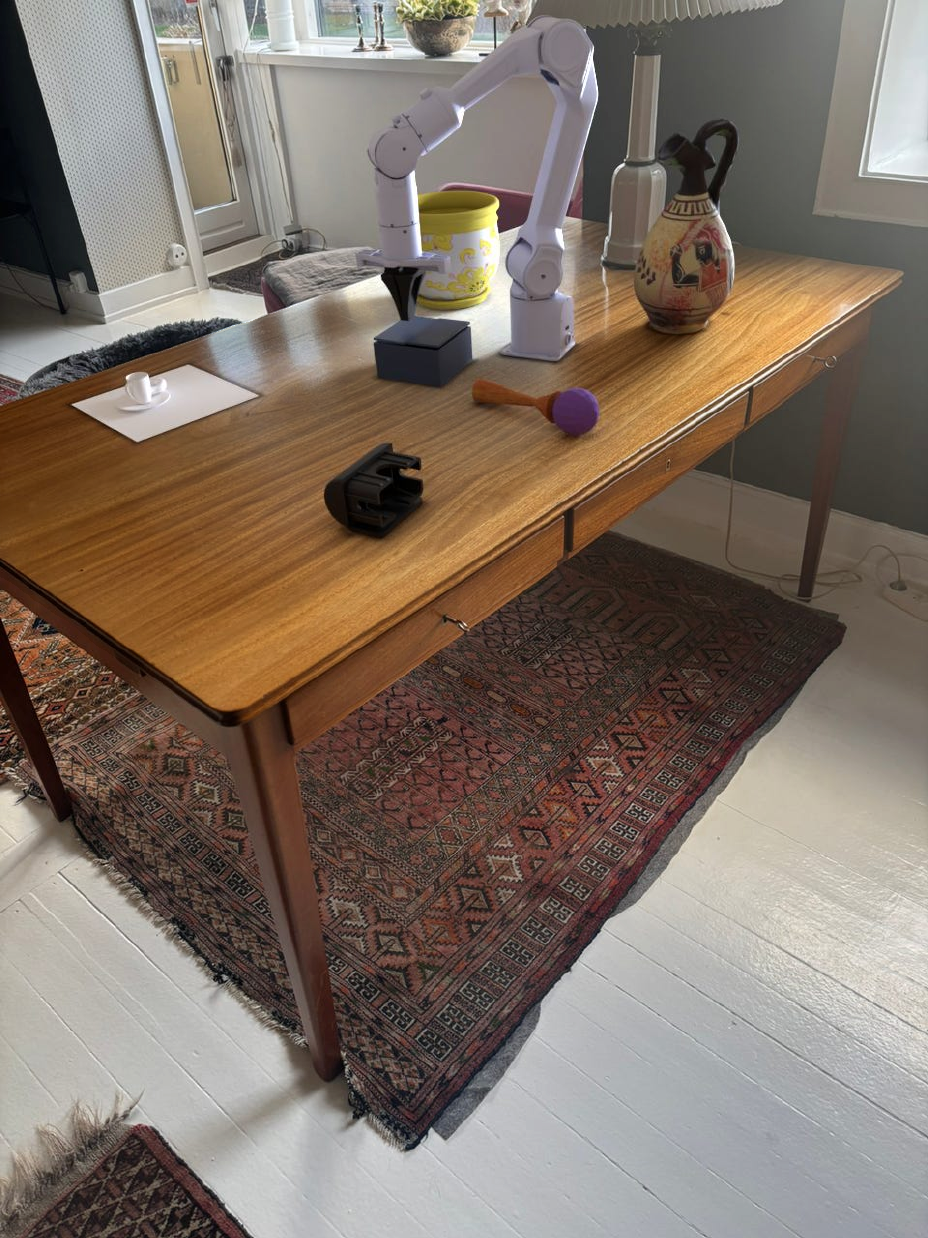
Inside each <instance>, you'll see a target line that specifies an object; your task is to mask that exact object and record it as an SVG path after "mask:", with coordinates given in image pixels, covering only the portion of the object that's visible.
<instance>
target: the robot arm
mask: <svg viewBox="0 0 928 1238" xmlns="http://www.w3.org/2000/svg"><path fill="white" fill-rule="evenodd" d="M594 48H595V46H594V44H593V42H592V41H591V39H590V38H589V36H588V34H587V33H586V31H585V29H584V28H583V26H582V25H581V24H580V23H579V22H578V21H576V20H574V19H571V18H559V17H558V18H557V17H554V16H552V15H546V14H543V15H539V16H536V17H534V18H533V19H532V20H530V21H529V22H528V24H527V25H526V26H521V27H520V28H518V29H516V30H514V32H513V33H511V34H510V35H509V36H508V37H507V38H505V40H503V41H502V42H501V43H500V44H499V45H498V46H497V47H496V48H494V49H493V50H492V51H491V52H490V53H489V54H487V55H486V56H485V57H484V58H483V59H482V60H481V61H479V62H478V63H477V64H476V65H475V66H473V68H471V69H470V70H469V71H468V72H466V74H465V75H463V76H462V77H461V78H460V79H459V80H458V81H456V82H455V84H453V85H452V86H450V87H449V88H446V87H442V86H435V87H433V88H432V89H431V90H430V89H429V88H428V87H425V88H424V89H423V90H421V91H420V92H419V93H418V94H419V97H420V98H419V99H418V100H417V101H416V102H414V103H413V104H412V105H410V107H408V108H407V109H406V110H404V111H403V112H402V113H401V114H398V113H395V114H393V115H392V116H391V117H390V120H391V122H392V124H387V125H386V124H384V125H382V126H380V127H378V128H376V129H375V131H374V132H373V133H372V134H371V136H370V137H371V138H370V139H369V142H368V148H367V149H366V152H367V156H368V159H369V161H370V162H371V164H372V165H373V166H374V167H375V168H373V169H374V182H375V188H374V191H375V201H376V211H377V221H378V231H379V240H380V249H360V250H358V251H356V252H355V253H354V254H355V262H356V267H357V268H358V267H359V268H364V267H373V268H384V269H383V272H382V273H381V274H380V280H381V282H382V283H383V284H384V286H385V287H386V289H387V291H388V292H389V294H390V296H391V297H392V300H393V302H394V305H395V308H396V310H397V313H398V316H399V319H400V320H402V321H410V320H411V319H413V318H414V317H415V316H416V309H417V302H418V301H417V298H418V294H419V290H420V287H421V284H422V281H423V279H424V277H425V274H426V271H431V272H438V273H439V274H446V273H447V272H449V271H450V270H451V265H450V257H449V256H441V255H437V254H432V253H428V252H424V251H422V250H421V237H420V225H419V213H418V200H417V195H418V190H417V189H418V188H417V185H416V177H415V176H416V175H415V170H416V168H417V167H418V165H419V160H420V157H423V156H425V155H426V154H427V153H429V152H430V151H432V150H433V149H435V147H437V146H438V145H439V144H440V143H441V142H443V141H445V139H447V138H448V137H450V136H451V135H452V134H453V133H454V132H456V131H457V130H458V129H460V128H461V126H462V123H463V117H464V113H465V112H466V110H467V109H469V108H470V107H472V106H473V105H475V104H476V103H477V102H479V101H480V100H482V99H483V98H484V97H486V96H487V95H489V94H490V93H491V92H493V91H494V90H495V89H497V88H498V87H499V86H502V84H504V83H505V82H506V81H508V80H509V79H511V78H512V77H514V76H518V75H520V76H521V75H523V76H524V75H540V76H541V77H542V78H543V79H544V80H545V82H546V84H547V86H548V88H549V89H550V91H551V93H552V95H553V97H554V99H555V100H556V105H555V110H554V114H553V117H552V121H551V124H550V129H549V133H548V137H547V140H546V144H545V148H544V152H543V156H542V160H541V163H540V168H539V170H538V171H539V172H538V175H537V180H536V184H535V187H534V192H533V195H532V199H531V202H530V206H529V211H528V215H527V218H526V221H525V222H524V223H523V224H522V225H521V227H520V228H518V231H517V235H516V238H515V240H514V242H513V244H512V245H511V246H510V247H509V248H508V250H507V252H506V255H505V258H504V266H505V267H504V268H505V270H506V273H507V274H508V276H509V277H510V278H511V279H512V283H511V285H510V288H509V309H510V310H509V312H510V313H509V314H510V316H509V317H510V343H509V344H508V345H507V346H506V347H505V348H504V349H502V350H501V355H503V356H509V357H510V356H511V357H518V358H527V359H535V360H543V361H551V362H559V361H560V360H561V359H562V358H563V357H564V356H565V355H566V354H567V353H568V352H569V351H570V350H571V349H572V348H573V347H574V346H575V345H576V341H575V338H574V337H575V303H574V299H573V297H572V296H571V295H568V294H563V293H561V292H559V291H558V290H559V288H560V286H561V284H562V281H563V277H564V271H563V264H562V263H563V255H564V251H565V245H564V241H563V240H564V239H563V233H562V230H563V226H564V222H565V219H566V215H567V211H568V208H569V204H570V201H571V197H572V194H573V190H574V186H575V183H576V180H577V175H578V172H579V169H580V164H581V162H582V157H583V154H584V150H585V146H586V143H587V140H588V136H589V132H590V128H591V125H592V122H593V118H594V113H595V110H596V106H597V103H598V97H599V90H598V84H597V78H596V72H595V65H594V60H593V56H594V50H595V49H594Z"/></svg>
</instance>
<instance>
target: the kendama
mask: <svg viewBox="0 0 928 1238" xmlns="http://www.w3.org/2000/svg"><path fill="white" fill-rule="evenodd" d="M471 397H472V399H473V401H474V402H475V403H481V404H494V405H495V404H496V405H508V406H519V407H529V408H530V407H531V408H532V407H533V408H535V409H536V410H537V411H538V412H539V413H540V414H541V416H543V417H544V418H545V419H546V421H548V422H549V423H550V424H555V426H556V427H557V428H558V429H559V430H560V431H562V432H563V433H564V434H566V435H570V436H582V435H585V434H587V433H588V432H590V431H591V430H592V429H593V428H594V427H595V426H596V425H597V423H598V421H599V419H600V414H601V411H600V406H599V403H598V400H597V398H596V396H594V395H593V393H592V392H590V391H589V390H588V389H585V388H581V387H571V388H568V389H566V390H564V391H560V390H557V391H553V392H551V393H547V394H546V395H545V394H544V395H542V396H539V397H537V398H536V397H533V396H531V395H528V394H525V393H523V392H520V391H517V390H515V389H512V388H509V387H507V386H505V385H501V384H499V383H496V382H493V381H491V380H488V379H485V378H481V377H480V378H478V379H476V380H475V382H474V383H473V385H472V389H471Z"/></svg>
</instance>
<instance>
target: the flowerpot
mask: <svg viewBox="0 0 928 1238" xmlns="http://www.w3.org/2000/svg"><path fill="white" fill-rule="evenodd" d="M417 200H418V213H419V225H420V237H421V250H422V251H424V252H428V253H432V254H437V255H441V256H449V257H450V265H451V270H450V271H449V272H447V273H446V274H439V273H438V272H431V271H426V274H425V277H424V279H423V281H422V284H421V287H420V290H419V294H418V298H417V302H418V304H419V305H421V306H423V307H425V308H428V309H434V310H461V309H466V308H470V307H474V306H477V305H479V304H481V303H483V302H484V301H485V300H486V298H487V296H488V295H489V294H490V293H491V291H492V288H491V286H490V283H491V282H492V280H493V278H494V277H495V274H496V273H497V269H498V265H499V262H500V236H499V229H498V223H497V221H498V219H499V217H498V215H497V210H498V209H499V208H500V201H499V199H498V198H497V197H496V196H495V195H493V194H489V193H486V192H481V191H474V190H473V191H472V190H444V191H443V190H442V191H433V192H426V193H421V194H417Z"/></svg>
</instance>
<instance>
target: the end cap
mask: <svg viewBox="0 0 928 1238" xmlns="http://www.w3.org/2000/svg"><path fill="white" fill-rule="evenodd" d="M422 469H423V468H422V459H421V457H420V456H416V455H410V454H408V453H407V454H406V453H401V452H397V451H394V445H393V443H392V442H382V443H379V444H377V445H376V446H375V447H374V448H372V449H371V450H370V451H368V452H367V453H366V454H364V455H363V456H362V457H360V458H359V459H358V460H356V461H355V462H354V463H352V464H350V465H349V466H348V467H346V469H344V470H343V471H341V472H340V473H339V474H337V475H336V476H335V477H333V478H332V479H330V480H329V481H328V482H327V483H326V484H325V487H324V489H323V500H324V505H325V507H326V509H327V511H328V513H329V514H330V515H331V517H332V518H333V519H334V520H335V521H336V522H338V523H339V524H340V525H342V526H343V527H345V528H346V529H347V530H349V531H351V532H354V533H357V534H359V535H360V534H361V535H364V536H368V537H371V538H376V539H384V538H386V536H388V535H389V534H390V533H391V532H392V531H393V530H394V529H396V528H397V527H398V526H399V525H400V524H401V523H402V522H403V521H405V520H406V519H407V518H409V517H410V515H411V514H413V513H414V512H415V511H416V510H418V508H419V507H421V506H422V505H423V503H424V502H423V498H422V497H421V496H422V495H423V493H424V480H423V478H419V477H413V476H409V475H405V474H404V473H403V472H402V470H403V471H408V470H415V471H418V472H420V471H421V470H422Z"/></svg>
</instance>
